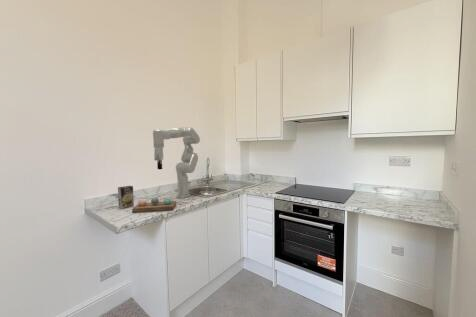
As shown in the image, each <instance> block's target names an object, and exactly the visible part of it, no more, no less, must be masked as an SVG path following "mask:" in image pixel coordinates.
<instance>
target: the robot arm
mask: <svg viewBox="0 0 476 317" xmlns="http://www.w3.org/2000/svg"><path fill="white" fill-rule="evenodd" d="M152 136H153V137H152V139H153V142H152V144H153V148H154V149H153V150H154V155H153V156H154V158H153V160H154V161H156V162H157V163H156V164H157V170H162V169H163V160H164V148H165V140H170V139H179V138H182V141H183V146H184V149H183V151H182V154H181V158H180V160H181V162H178V163H176V165H175V171H176V175H177V194H176V198H178V199H185V198H189V197H191V193H189V176H188V174H192V173H194V172H195V169H196V167H197V164H198V161H199V155H198V153H196V152H194V147H193V146H192V144H193V145H194V144H195V145H197V144H199V143H200V142H201V137H200V136H199V134H198V133H197V132H196V130H195V129H194V128H193V127H191V126H189V127H188V126H187V127H175V128H169V129H154V130H153V131H152Z"/></svg>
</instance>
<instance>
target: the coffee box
mask: <svg viewBox="0 0 476 317" xmlns="http://www.w3.org/2000/svg"><path fill="white" fill-rule="evenodd" d="M117 197H118V200H117V201H118V208H119V209H121V210H124V209H128V208H132V207H133V208H134V207H135V203H134V202H135V201H134V200H135V198H134V186H133V185H126V186H125V185H124V186H118V187H117Z"/></svg>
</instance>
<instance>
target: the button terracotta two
mask: <svg viewBox="0 0 476 317" xmlns="http://www.w3.org/2000/svg"><path fill="white" fill-rule="evenodd" d="M146 203H147V201H146V200H144V199H143V200H139V201H138V204H139V206H145V205H146Z"/></svg>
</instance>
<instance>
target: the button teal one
mask: <svg viewBox="0 0 476 317" xmlns="http://www.w3.org/2000/svg"><path fill="white" fill-rule="evenodd" d="M163 202H164V205H169V204H171V202H172V199H171V198H166V199H164V200H163Z"/></svg>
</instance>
